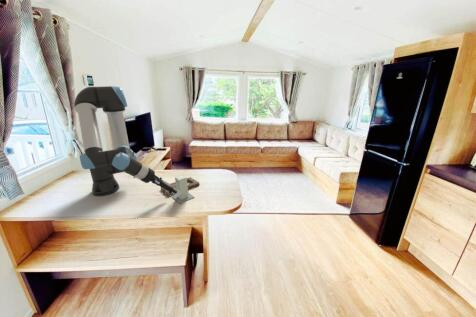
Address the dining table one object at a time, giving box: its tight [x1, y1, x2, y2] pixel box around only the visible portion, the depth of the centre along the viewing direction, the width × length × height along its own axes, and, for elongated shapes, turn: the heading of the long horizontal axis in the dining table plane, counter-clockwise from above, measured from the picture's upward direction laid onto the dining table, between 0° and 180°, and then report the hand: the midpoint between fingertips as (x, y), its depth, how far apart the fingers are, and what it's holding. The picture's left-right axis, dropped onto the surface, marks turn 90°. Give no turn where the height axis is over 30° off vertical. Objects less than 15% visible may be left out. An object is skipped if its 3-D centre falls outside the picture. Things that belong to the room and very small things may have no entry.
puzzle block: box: [174, 174, 189, 200], centre depth 124 cm, size 5×5×13 cm
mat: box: [171, 192, 195, 204], centre depth 126 cm, size 10×10×1 cm
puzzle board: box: [160, 176, 200, 197], centre depth 138 cm, size 12×22×2 cm, turn 132°
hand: (174, 190), depth 121 cm, fingers open, 13 cm apart
